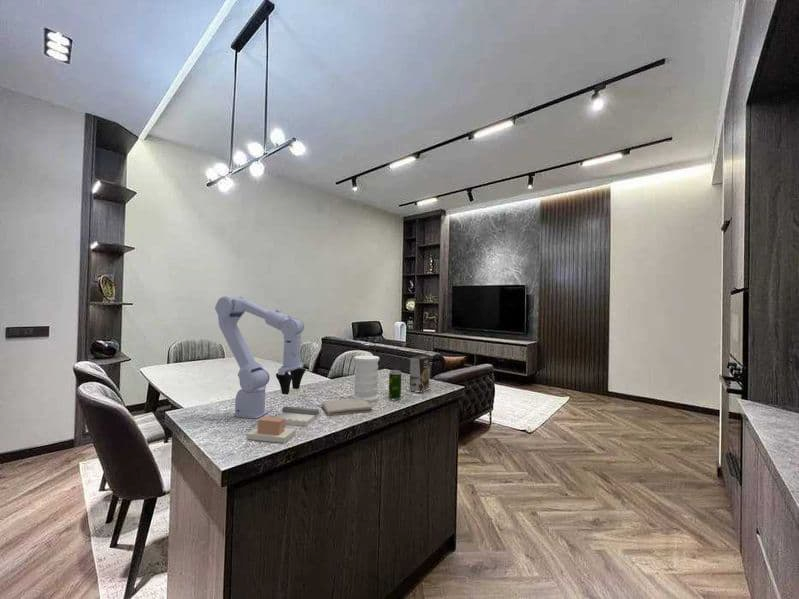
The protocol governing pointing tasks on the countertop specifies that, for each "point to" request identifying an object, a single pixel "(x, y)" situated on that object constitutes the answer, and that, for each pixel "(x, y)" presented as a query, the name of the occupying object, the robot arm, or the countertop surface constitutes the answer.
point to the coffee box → (419, 373)
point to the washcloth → (346, 406)
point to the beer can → (395, 384)
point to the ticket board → (299, 415)
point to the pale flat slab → (271, 430)
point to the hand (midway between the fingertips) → (290, 391)
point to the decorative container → (366, 378)
